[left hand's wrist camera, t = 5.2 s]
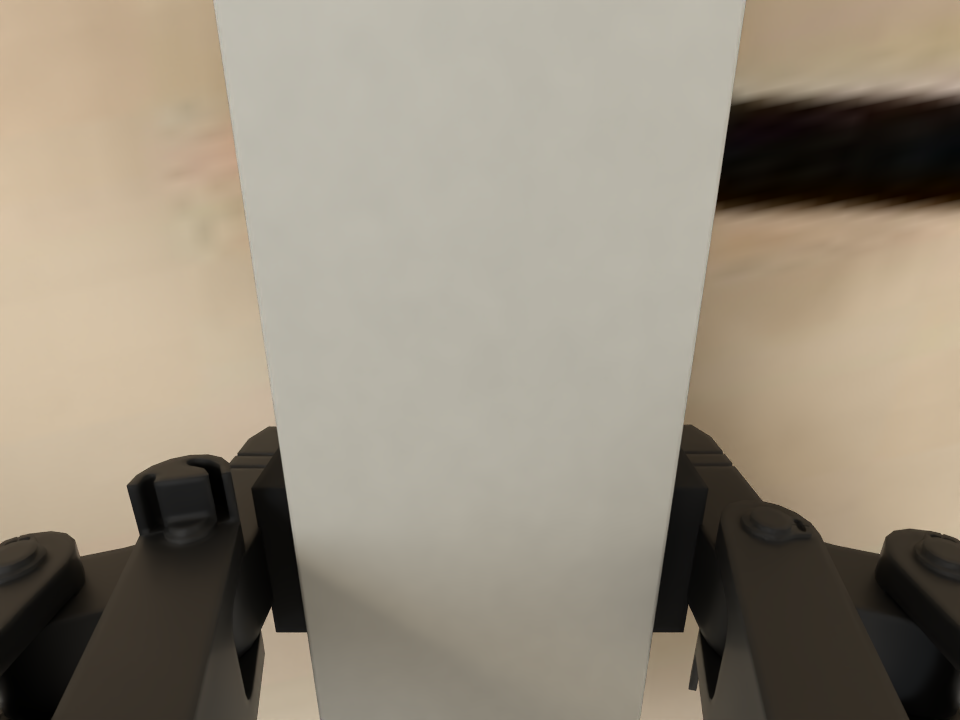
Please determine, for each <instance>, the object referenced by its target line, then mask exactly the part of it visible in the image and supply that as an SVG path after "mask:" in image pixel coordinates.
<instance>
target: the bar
mask: <svg viewBox="0 0 960 720" xmlns="http://www.w3.org/2000/svg"><path fill="white" fill-rule="evenodd" d="M213 2H214V8H215V15H216V22H217V29H218V35H219V42H220V49H221V55H222V62H223V69H224V76H225V82H226V89H227V96H228V103H229V109H230V116H231V123H232V129H233V136H234V143H235V150H236V156H237V163H238V170H239V177H240V183H241V190H242V197H243V204H244V210H245V217H246V224H247V230H248V237H249V244H250V251H251V257H252V264H253V271H254V278H255V284H256V291H257V298H258V305H259V311H260V318H261V325H262V331H263V338H264V345H265V352H266V358H267V365H268V372H269V379H270V385H271V392H272V399H273V405H274V412H275V419H276V426H277V432H278V439H279V446H280V453H281V459H282V466H283V473H284V480H285V486H286V493H287V500H288V506H289V513H290V520H291V527H292V533H293V540H294V547H295V554H296V560H297V567H298V574H299V580H300V587H301V594H302V601H303V607H304V614H305V621H306V628H307V634H308V641H309V648H310V655H311V661H312V668H313V675H314V681H315V688H316V695H317V702H318V708H319V715H320V720H640V715H641V708H642V701H643V695H644V688H645V681H646V674H647V667H648V661H649V654H650V647H651V640H652V634H653V627H654V620H655V613H656V607H657V600H658V593H659V586H660V580H661V573H662V566H663V559H664V552H665V546H666V539H667V532H668V525H669V519H670V512H671V505H672V498H673V492H674V485H675V478H676V471H677V465H678V458H679V451H680V444H681V437H682V431H683V424H684V417H685V410H686V404H687V397H688V390H689V383H690V377H691V370H692V363H693V356H694V350H695V343H696V336H697V329H698V322H699V316H700V309H701V302H702V295H703V289H704V282H705V275H706V268H707V262H708V255H709V248H710V241H711V234H712V228H713V221H714V214H715V207H716V201H717V194H718V187H719V180H720V174H721V167H722V160H723V153H724V147H725V140H726V133H727V126H728V119H729V113H730V106H731V99H732V92H733V86H734V79H735V72H736V65H737V59H738V52H739V45H740V38H741V32H742V25H743V18H744V11H745V4H746V0H213Z"/></svg>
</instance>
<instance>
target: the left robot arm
mask: <svg viewBox="0 0 960 720" xmlns="http://www.w3.org/2000/svg"><path fill="white" fill-rule="evenodd" d="M127 489H128V493H129V496H130V500H131V504H132V507H133V511H134V515H135V519H136V522H137V526H138V530H139V533H140V536H139V538H138V540H137V543H136V545H133V546H129V547H126V548H121V549H116V550H111V551H106V552H101V553H96V554H91V555H86V556H81V557H80V555H79V552H78V548H77V545H76V542H75V540H74V539H73V538H72V537H70V536H69V535H68V534H66V533H60V532H53V531H49V532H41V533H32V534H26V535H22V536H20V537H18V538H17V537H15V538H12V539H9V540H6V541H4V542H2V543H1V544H0V720H257V714H258V705H259V697H260V689H261V681H262V672H263V664H264V656H265V652H264V645H263V639H262V633H261V628H262V626H263V624H264V622H265V619H266V617H267V615H268V613H269V611H270V608H271V606H272V611H273V617H274V622H275V628H276V632H307V628H306V621H305V614H304V607H303V601H302V594H301V587H300V580H299V574H298V567H297V560H296V554H295V547H294V540H293V533H292V527H291V520H290V513H289V506H288V500H287V493H286V486H285V480H284V473H283V466H282V459H281V453H280V446H279V439H278V432H277V427H267V428H266V429H264V430H263V431H261V432H259V433H258V434H256V435H254V436H253V437H251V438H250V439H249V440H248V441H247V442H246V443H245V445H244V446H243V447H242V448H241V450H240V451H239V452H238V455H237V456H235V457H234V458H233V460H232V461H231V462H230V463H228V462H227V461H226V460H224V459H223V458H222V457H217V456H213V455H188V456H183V457H178V458H173V459H169V460H167V461H164V462H161V463H159V464H156V465H153V466H151V467H150V468H148V469H146V470H144V471H143V472H141V473H139V474H138V475H136V476H135V477H134V478H133V479H132V481H131V482H130V483H129V484H128V485H127ZM688 604H689V606H690V608H691V611H692V613H693V615H694V617H695V619H696V622H697V624H698V626H699V633H698V639H697V644H696V649H695V655H694V660H693V665H692V671H691V676H690V682H689V689H690V690H694V691H696V689H697V684H698V679H699V687H700V696H701V704H702V712H703V720H960V541H959V540H958V539H956V538H954V537H951V536H948V535H945V534H943V535H941V533H937V532H933V531H925V530H916V529H904V530H896V531H893V532H892V533H891V534H889V535H888V536H887V537H886V538H885V541H884V544H883V547H882V550H881V553H880V554H876V553H871V552H866V551H861V550H856V549H851V548H846V547H841V546H836V545H832V544H829V543H825V542H823V539H822V537H821V535H820V534H819V533H818V531H817V530H816V529H815V527H814V526H813V525H812V524H811V523H810V522H809V521H807V520H806V519H804V518H803V517H802V516H800V515H799V514H797V513H795V512H793V511H791V510H789V509H786V508H784V507H782V506H779V505H776V504H772V503H767V502H763V501H762V500H761V499H760V497H759V496H758V495H757V494H756V492H755V491H754V490H753V489H752V487H751V486H750V485H749V484H748V482H747V481H746V480H745V479H744V477H743V476H742V475H741V474H740V472H739V471H738V470H737V469H736V467H735V466H732V463H731V461H730V460H729V459H728V458H727V456H726V455H725V454H723V451H722V450H721V449H720V448H719V446H718V445H717V444H716V443H715V441H714V440H713V439H712V438H711V437H710V436H709V435H707V434H705V433H704V432H702V431H700V430H699V429H697V428H696V427H694V426H692V425H683V431H682V437H681V444H680V451H679V458H678V465H677V471H676V478H675V485H674V492H673V498H672V505H671V512H670V519H669V525H668V532H667V539H666V546H665V552H664V559H663V566H662V573H661V580H660V586H659V593H658V600H657V607H656V613H655V620H654V627H653V632H684V626H685V621H686V615H687V609H688Z"/></svg>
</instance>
